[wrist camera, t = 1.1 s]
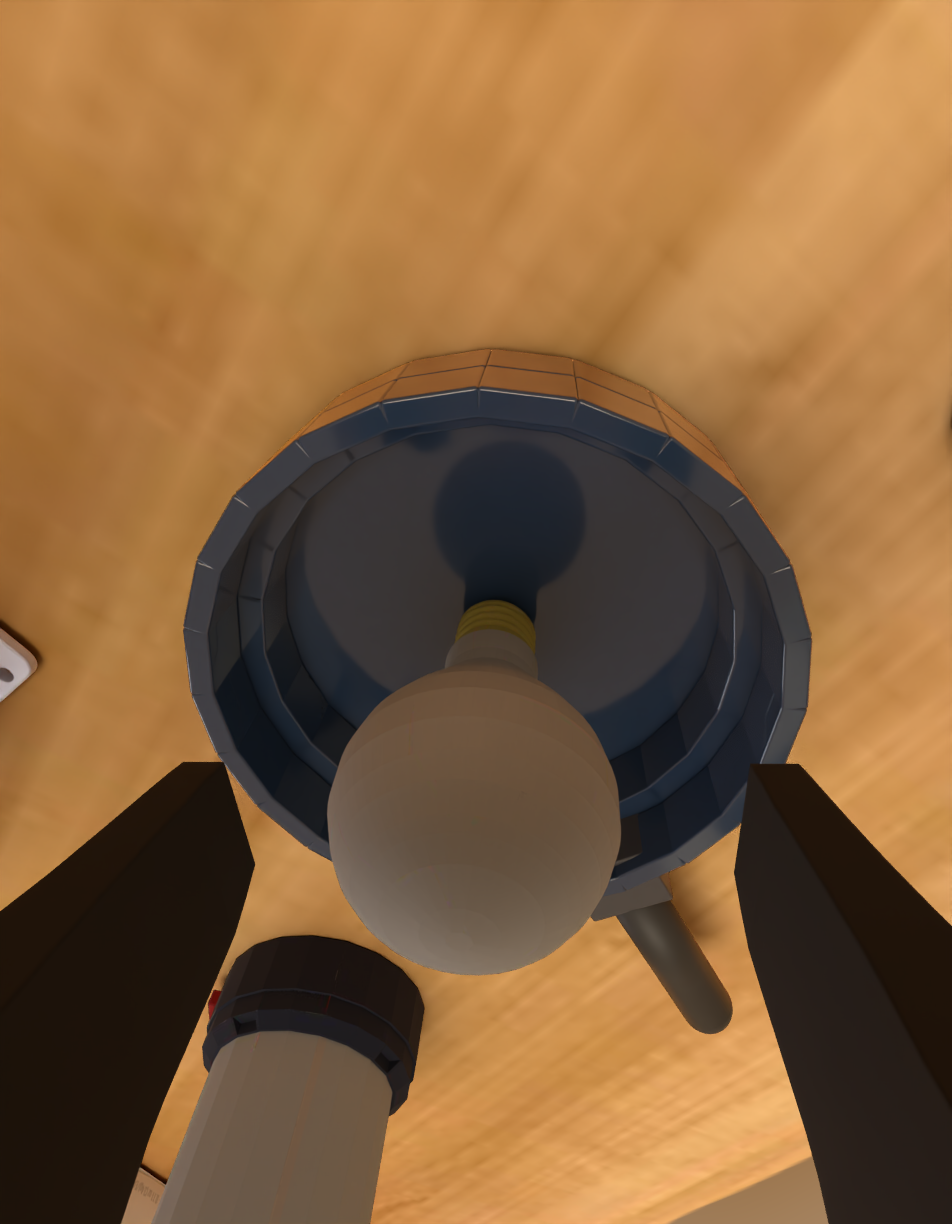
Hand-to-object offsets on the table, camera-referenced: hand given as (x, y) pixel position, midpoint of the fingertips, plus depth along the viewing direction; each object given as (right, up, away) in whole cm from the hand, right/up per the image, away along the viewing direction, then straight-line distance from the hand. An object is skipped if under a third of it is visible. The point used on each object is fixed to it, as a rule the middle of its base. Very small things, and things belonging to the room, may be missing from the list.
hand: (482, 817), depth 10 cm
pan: (+1, +3, +10) cm, 11 cm away
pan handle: (+6, -7, +13) cm, 16 cm away
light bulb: (0, +3, +10) cm, 11 cm away
